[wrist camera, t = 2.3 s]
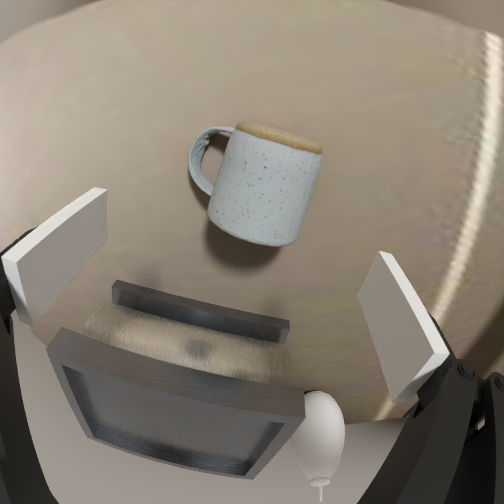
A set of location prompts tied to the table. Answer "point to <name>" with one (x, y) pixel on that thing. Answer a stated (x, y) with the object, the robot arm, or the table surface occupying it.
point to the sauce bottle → (319, 439)
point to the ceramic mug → (259, 182)
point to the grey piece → (181, 381)
